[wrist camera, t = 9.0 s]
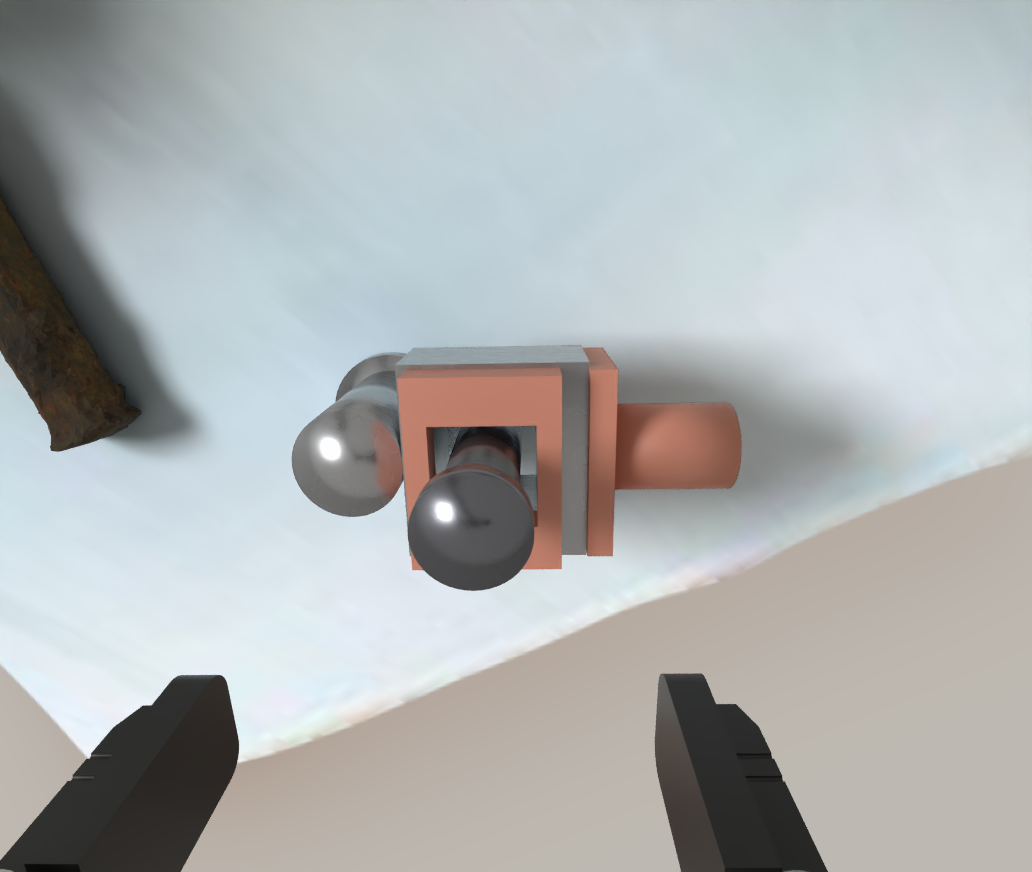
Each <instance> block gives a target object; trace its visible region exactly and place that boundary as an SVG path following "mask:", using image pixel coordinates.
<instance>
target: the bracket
mask: <svg viewBox="0 0 1032 872" xmlns="http://www.w3.org/2000/svg"><path fill="white" fill-rule="evenodd" d="M583 350H584V352H585V354H586V356H587V358H588V360H589V362H590V370H589V430H588V490H587V556H613V525H614V493H615V489H701V488H731V487H732V486H733V485H734V483H735V482H736V479H737V477H738V473H739V469H740V462H741V433H740V426H739V421H738V417H737V414H736V412H735V410H734V408H733V406H732V405H731V404H730V403H727V402H722V403H651V404H617V397H618V368H617V367H616V366H615V364H614V363H613V361H612V360H611V359H610V357H609V356H608V355H607V353H606V352H605V350H604V349H603V348H583ZM397 383H398V395H399V408H400V420H401V433H402V445H403V458H404V470H405V483H406V495H407V508H408V520H409V518H410V514H411V512H412V509H413V507H414V505H415V503H416V500H417V498H418V496H419V494H420V492H421V490H422V489H423V487H424V486H425V485H426V484H427V483H428V481H429V480H431V479H432V478H433V477H434V476H435V475H436V467H435V451H434V435H433V427H472V426H536V428H537V510H535V511H533V512H534V544H533V549H532V552H531V555H530V557H529V559H528V561H527V563H526V564H525V565H524V567H523V568H522V569H562V374H561V370H560V368H512V369H447V370H405V371H404V372H403V373H402V374H401V375H400V376H399V377H398V378H397ZM411 558H412V570H423V569H422V567H421V566H420V565H419V564H418V562H417V561H416V559H415V558H414V556H413V553H412V551H411Z"/></svg>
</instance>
